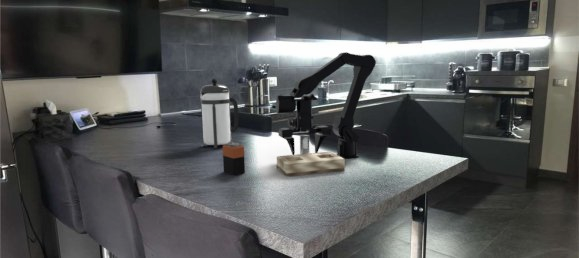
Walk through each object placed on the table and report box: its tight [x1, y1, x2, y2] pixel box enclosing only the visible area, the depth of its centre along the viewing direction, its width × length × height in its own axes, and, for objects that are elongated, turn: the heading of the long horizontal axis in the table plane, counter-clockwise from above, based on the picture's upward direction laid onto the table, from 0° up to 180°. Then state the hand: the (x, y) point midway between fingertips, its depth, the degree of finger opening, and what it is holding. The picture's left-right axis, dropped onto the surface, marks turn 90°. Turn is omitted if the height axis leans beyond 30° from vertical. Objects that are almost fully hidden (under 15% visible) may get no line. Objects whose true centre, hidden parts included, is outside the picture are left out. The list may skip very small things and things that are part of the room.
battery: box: [222, 141, 246, 176], centre depth 131 cm, size 4×7×10 cm, turn 42°
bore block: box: [276, 151, 346, 177], centre depth 134 cm, size 20×12×4 cm, turn 107°
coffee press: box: [199, 78, 240, 150], centre depth 176 cm, size 17×16×30 cm
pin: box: [299, 134, 310, 154], centre depth 148 cm, size 4×4×9 cm
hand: (304, 154), depth 148 cm, fingers open, 9 cm apart
